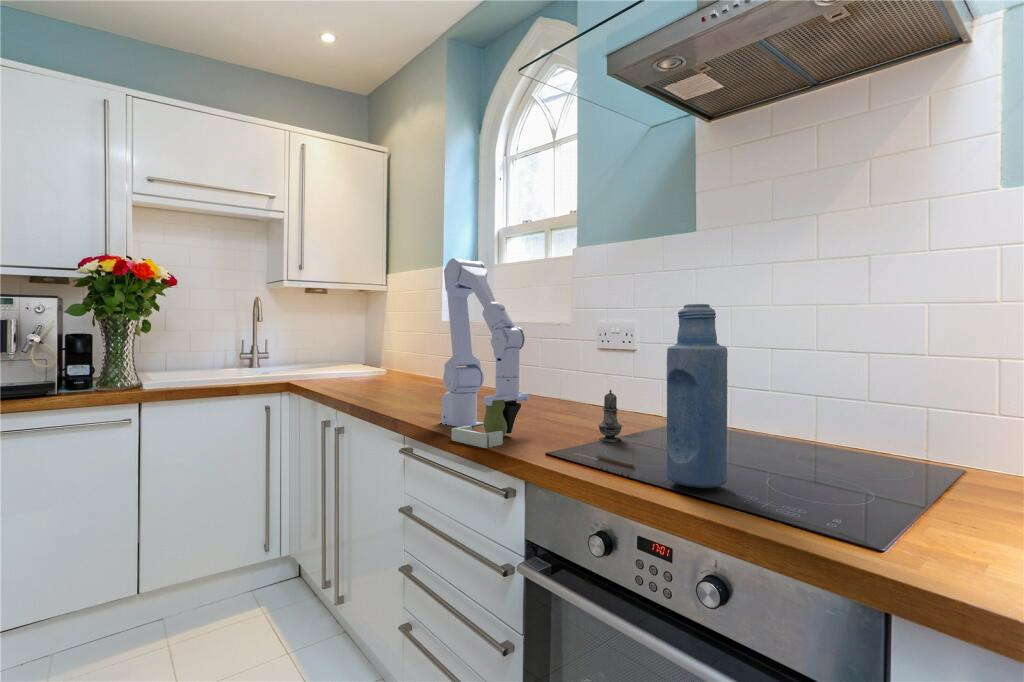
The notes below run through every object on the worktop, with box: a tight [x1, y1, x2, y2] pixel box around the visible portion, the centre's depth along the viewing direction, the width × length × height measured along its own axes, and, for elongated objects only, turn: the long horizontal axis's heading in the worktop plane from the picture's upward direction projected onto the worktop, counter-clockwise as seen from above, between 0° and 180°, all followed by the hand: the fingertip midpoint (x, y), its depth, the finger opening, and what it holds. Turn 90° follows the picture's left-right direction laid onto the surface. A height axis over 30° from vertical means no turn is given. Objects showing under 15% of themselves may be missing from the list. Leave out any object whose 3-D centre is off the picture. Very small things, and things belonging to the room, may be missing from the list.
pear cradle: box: [451, 426, 504, 449], centre depth 122 cm, size 11×6×3 cm, turn 49°
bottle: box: [666, 303, 729, 489], centre depth 91 cm, size 10×10×30 cm
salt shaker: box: [597, 389, 623, 443], centre depth 127 cm, size 6×6×12 cm
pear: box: [483, 400, 507, 437], centre depth 126 cm, size 6×5×10 cm
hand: (506, 432), depth 129 cm, fingers closed
